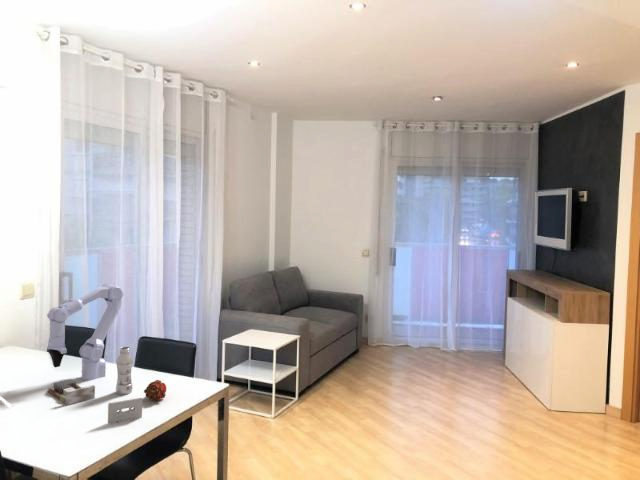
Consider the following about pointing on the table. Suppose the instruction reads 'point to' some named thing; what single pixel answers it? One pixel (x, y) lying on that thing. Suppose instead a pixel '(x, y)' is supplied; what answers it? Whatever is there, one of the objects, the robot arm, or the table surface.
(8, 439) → the table surface
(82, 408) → the table surface
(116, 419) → the cassette
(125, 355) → the plastic bottle
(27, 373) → the table surface
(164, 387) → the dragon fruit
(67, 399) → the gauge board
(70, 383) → the grey rectangular block
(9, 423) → the table surface
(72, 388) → the cream square block
